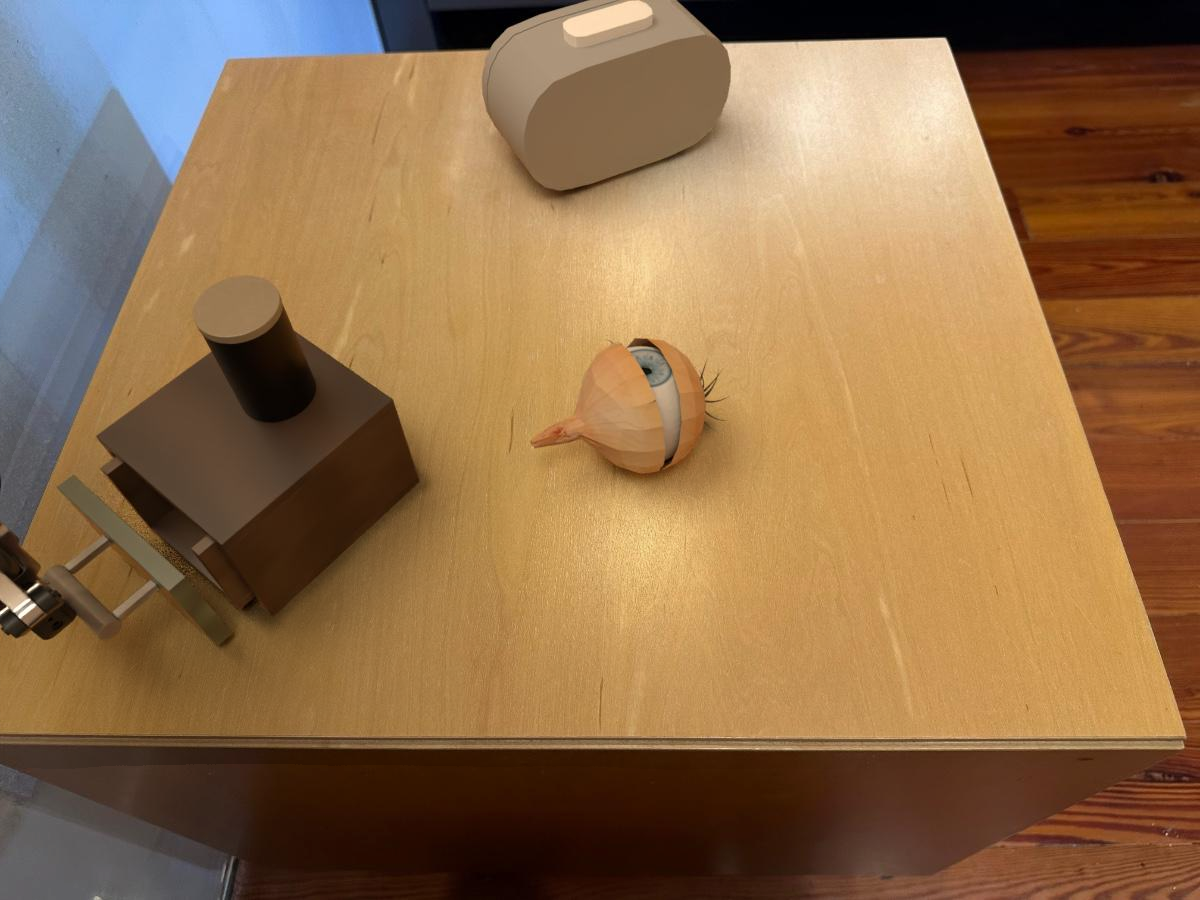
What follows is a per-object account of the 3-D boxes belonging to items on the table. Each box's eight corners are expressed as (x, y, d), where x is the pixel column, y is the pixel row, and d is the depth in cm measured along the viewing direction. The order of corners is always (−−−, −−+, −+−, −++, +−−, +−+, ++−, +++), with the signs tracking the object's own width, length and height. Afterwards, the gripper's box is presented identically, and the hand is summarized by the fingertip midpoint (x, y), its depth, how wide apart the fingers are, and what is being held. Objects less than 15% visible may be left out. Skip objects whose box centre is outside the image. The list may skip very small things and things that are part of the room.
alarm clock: (674, 92, 93) (681, -41, 82) (723, 143, 88) (738, 9, 77) (488, 153, 88) (470, 19, 77) (530, 211, 83) (517, 77, 72)
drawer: (162, 697, 56) (104, 646, 50) (58, 593, 61) (-8, 533, 54) (363, 514, 64) (334, 449, 57) (258, 433, 68) (221, 364, 62)
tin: (254, 435, 57) (207, 349, 51) (229, 383, 60) (181, 295, 53) (328, 402, 58) (291, 315, 52) (301, 353, 61) (263, 263, 54)
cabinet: (272, 617, 60) (221, 545, 53) (157, 515, 65) (94, 435, 57) (419, 481, 66) (393, 398, 59) (305, 397, 71) (266, 310, 63)
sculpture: (773, 378, 61) (567, 411, 55) (739, 480, 67) (549, 520, 61) (706, 303, 67) (513, 325, 61) (680, 403, 73) (502, 432, 67)
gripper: (-298, 433, 41) (-61, 604, 55) (-159, 602, 36) (63, 741, 50) (-133, 334, 44) (51, 519, 58) (15, 476, 39) (177, 640, 53)
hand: (56, 622), depth 54 cm, fingers closed
